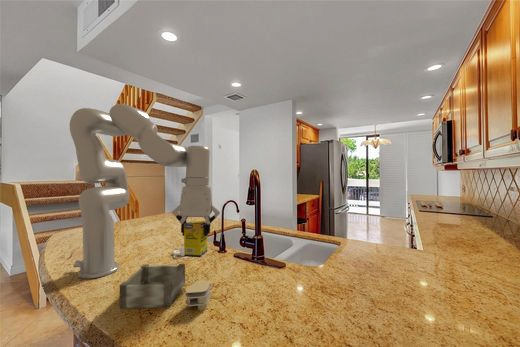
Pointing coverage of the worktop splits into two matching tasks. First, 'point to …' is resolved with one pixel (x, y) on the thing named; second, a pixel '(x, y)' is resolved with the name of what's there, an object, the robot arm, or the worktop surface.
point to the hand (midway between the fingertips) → (195, 234)
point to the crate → (152, 286)
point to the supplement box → (195, 239)
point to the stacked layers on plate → (198, 294)
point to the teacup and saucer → (179, 252)
